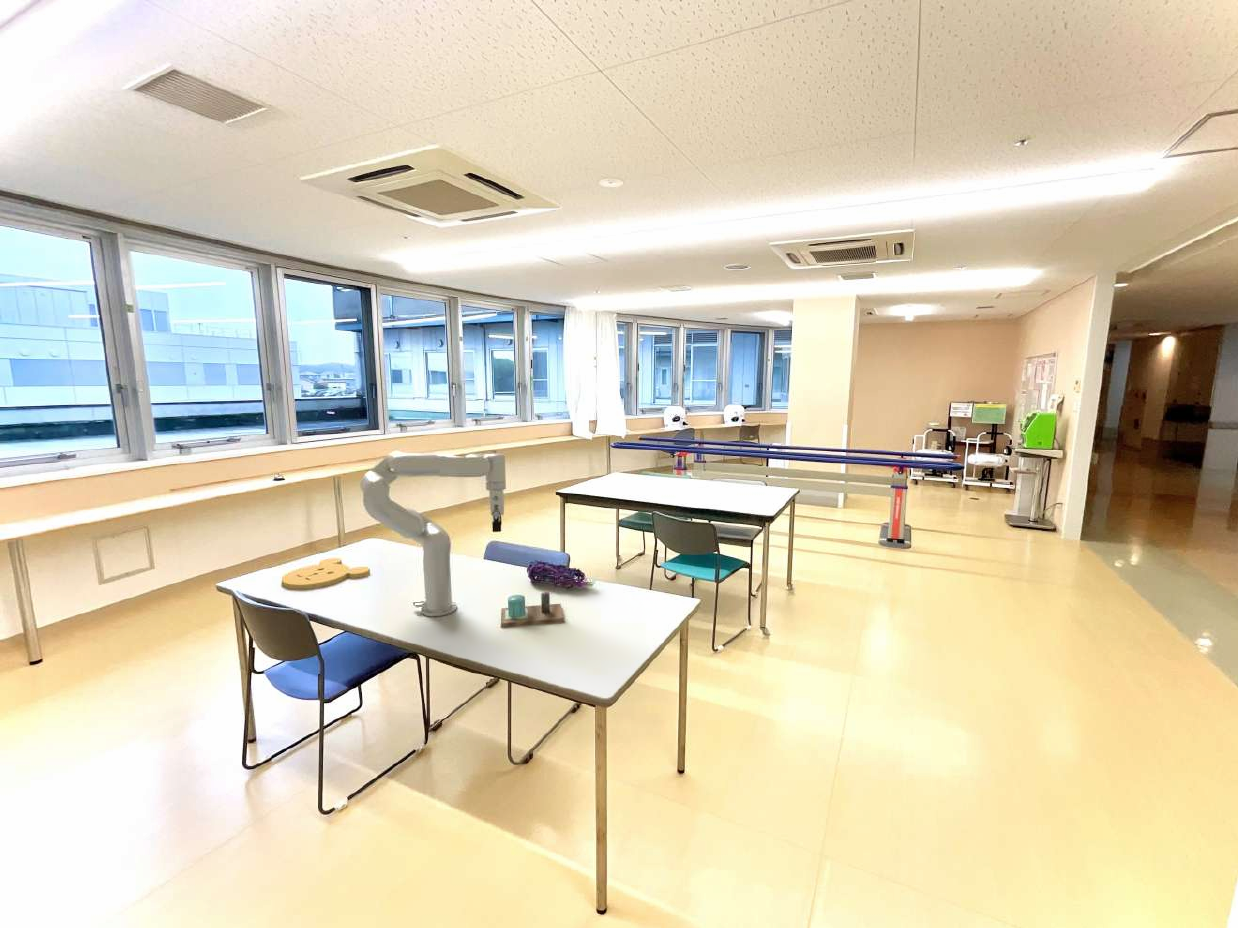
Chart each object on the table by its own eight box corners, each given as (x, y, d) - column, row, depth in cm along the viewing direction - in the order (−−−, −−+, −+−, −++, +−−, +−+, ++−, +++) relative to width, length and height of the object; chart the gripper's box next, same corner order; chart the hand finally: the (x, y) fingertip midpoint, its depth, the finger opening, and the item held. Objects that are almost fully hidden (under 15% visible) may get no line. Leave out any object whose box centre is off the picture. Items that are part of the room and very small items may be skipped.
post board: (500, 627, 187) (500, 604, 186) (501, 611, 200) (500, 590, 198) (563, 622, 192) (563, 599, 190) (560, 607, 204) (560, 586, 203)
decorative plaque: (305, 596, 214) (374, 574, 240) (305, 590, 214) (373, 569, 239) (266, 581, 231) (335, 562, 256) (266, 575, 231) (334, 556, 256)
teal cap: (525, 616, 192) (525, 600, 191) (508, 617, 191) (508, 601, 190) (524, 609, 198) (524, 594, 197) (508, 611, 197) (507, 595, 196)
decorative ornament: (541, 559, 238) (601, 567, 225) (538, 583, 237) (598, 593, 223) (524, 559, 226) (585, 568, 213) (520, 584, 225) (582, 595, 212)
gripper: (505, 489, 199) (506, 533, 202) (505, 481, 216) (507, 522, 219) (484, 490, 198) (486, 534, 200) (486, 481, 214) (488, 523, 217)
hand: (497, 528), depth 209 cm, fingers open, 9 cm apart
